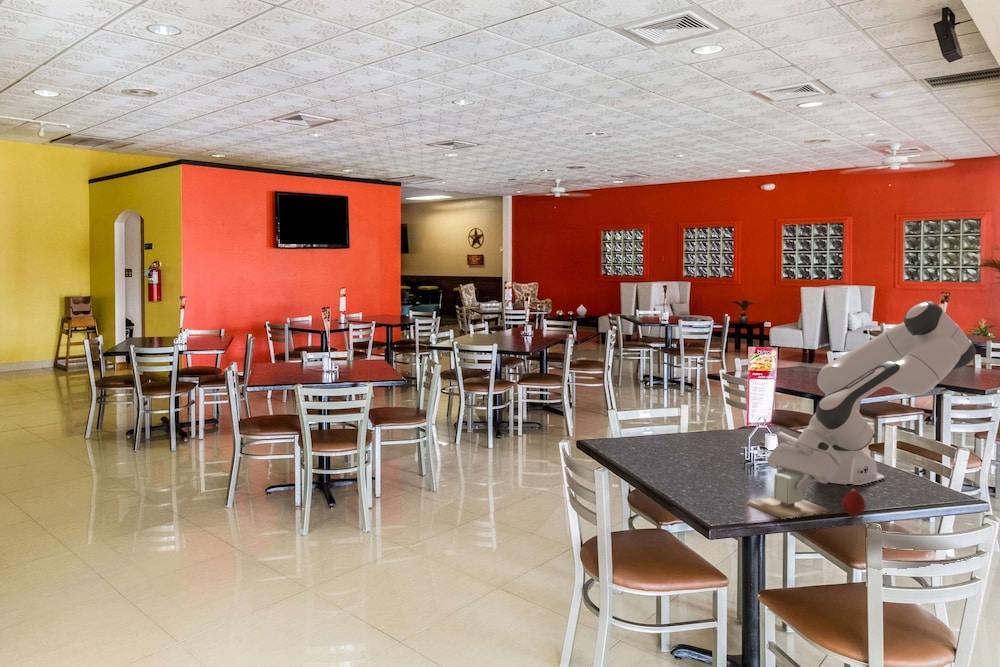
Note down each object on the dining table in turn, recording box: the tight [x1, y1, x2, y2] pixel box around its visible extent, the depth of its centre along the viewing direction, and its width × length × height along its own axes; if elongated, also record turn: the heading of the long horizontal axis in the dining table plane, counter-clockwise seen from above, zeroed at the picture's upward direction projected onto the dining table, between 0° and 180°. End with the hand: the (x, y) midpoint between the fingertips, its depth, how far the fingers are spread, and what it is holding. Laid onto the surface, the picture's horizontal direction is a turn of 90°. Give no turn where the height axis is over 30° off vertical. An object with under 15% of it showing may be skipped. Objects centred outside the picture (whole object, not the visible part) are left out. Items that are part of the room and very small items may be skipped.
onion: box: [841, 488, 866, 518], centre depth 206 cm, size 6×6×8 cm
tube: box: [775, 431, 798, 444], centre depth 275 cm, size 5×5×25 cm
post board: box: [747, 496, 829, 520], centre depth 213 cm, size 16×14×6 cm
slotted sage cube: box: [773, 472, 804, 504], centre depth 212 cm, size 5×5×7 cm
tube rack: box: [759, 440, 766, 446], centre depth 275 cm, size 11×28×2 cm, turn 22°
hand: (787, 485), depth 212 cm, fingers closed on slotted sage cube, 5 cm apart
